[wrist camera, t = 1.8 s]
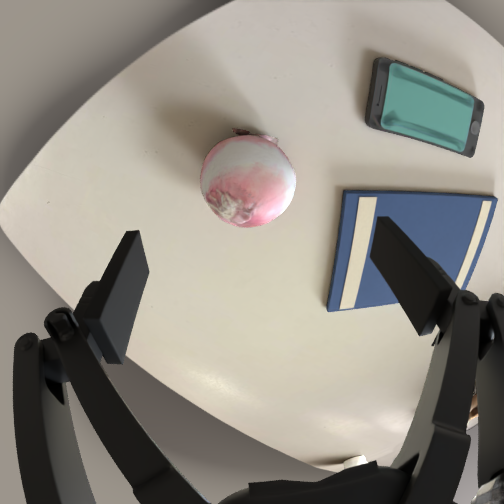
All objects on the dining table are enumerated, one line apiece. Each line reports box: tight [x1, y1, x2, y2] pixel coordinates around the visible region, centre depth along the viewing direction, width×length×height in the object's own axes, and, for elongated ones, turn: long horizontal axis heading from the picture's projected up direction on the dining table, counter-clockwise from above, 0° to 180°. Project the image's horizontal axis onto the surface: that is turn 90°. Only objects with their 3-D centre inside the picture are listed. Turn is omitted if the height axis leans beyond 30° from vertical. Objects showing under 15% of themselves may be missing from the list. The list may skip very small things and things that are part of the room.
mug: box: [343, 456, 368, 469], centre depth 79 cm, size 8×12×10 cm
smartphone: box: [365, 58, 484, 158], centre depth 23 cm, size 7×1×15 cm
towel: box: [326, 190, 498, 312], centre depth 33 cm, size 24×16×1 cm, turn 91°
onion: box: [200, 128, 296, 227], centre depth 24 cm, size 8×8×7 cm
